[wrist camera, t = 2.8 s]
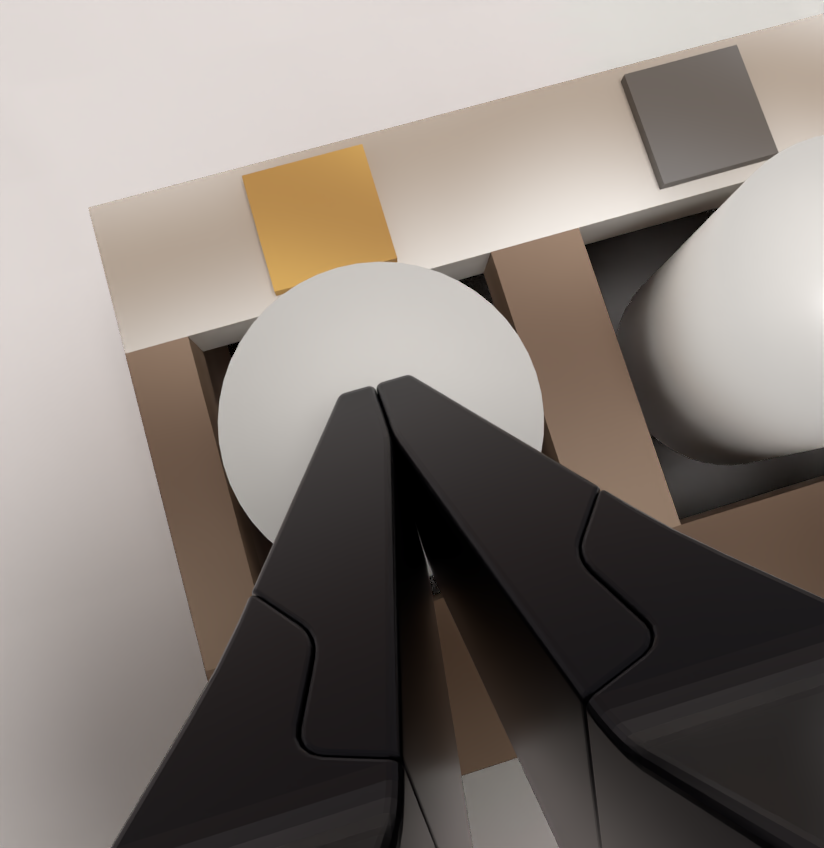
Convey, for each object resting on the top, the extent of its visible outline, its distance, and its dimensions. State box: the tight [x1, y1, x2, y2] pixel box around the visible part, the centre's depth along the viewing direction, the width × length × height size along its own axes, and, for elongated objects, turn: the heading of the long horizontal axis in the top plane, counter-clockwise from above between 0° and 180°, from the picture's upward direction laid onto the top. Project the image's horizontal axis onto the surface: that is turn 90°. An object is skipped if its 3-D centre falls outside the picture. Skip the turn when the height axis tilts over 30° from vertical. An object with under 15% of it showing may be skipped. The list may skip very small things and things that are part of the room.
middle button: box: [617, 135, 824, 465], centre depth 12 cm, size 4×4×4 cm
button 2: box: [218, 262, 544, 577], centre depth 12 cm, size 4×4×4 cm
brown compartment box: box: [89, 13, 824, 775], centre depth 16 cm, size 10×20×7 cm, turn 107°
